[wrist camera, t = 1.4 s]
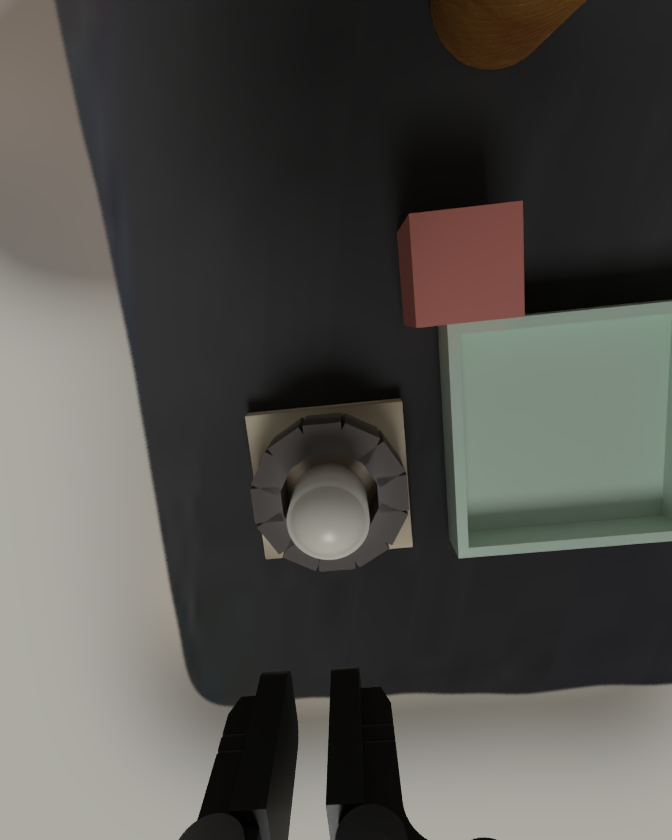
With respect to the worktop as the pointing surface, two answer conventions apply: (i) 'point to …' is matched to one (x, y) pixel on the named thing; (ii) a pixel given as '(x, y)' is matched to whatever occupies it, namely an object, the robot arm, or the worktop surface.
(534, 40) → the disposable coffee cup
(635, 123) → the worktop surface
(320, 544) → the dome
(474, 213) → the cube
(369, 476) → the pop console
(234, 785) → the robot arm
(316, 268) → the worktop surface
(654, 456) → the tray
